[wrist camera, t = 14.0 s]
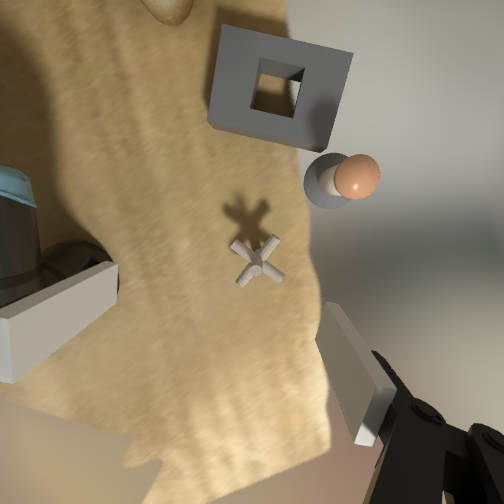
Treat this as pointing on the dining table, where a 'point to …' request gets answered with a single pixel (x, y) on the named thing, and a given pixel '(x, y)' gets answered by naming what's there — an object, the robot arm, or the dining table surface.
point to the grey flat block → (284, 66)
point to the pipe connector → (257, 261)
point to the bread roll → (169, 10)
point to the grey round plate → (312, 182)
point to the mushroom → (351, 177)
